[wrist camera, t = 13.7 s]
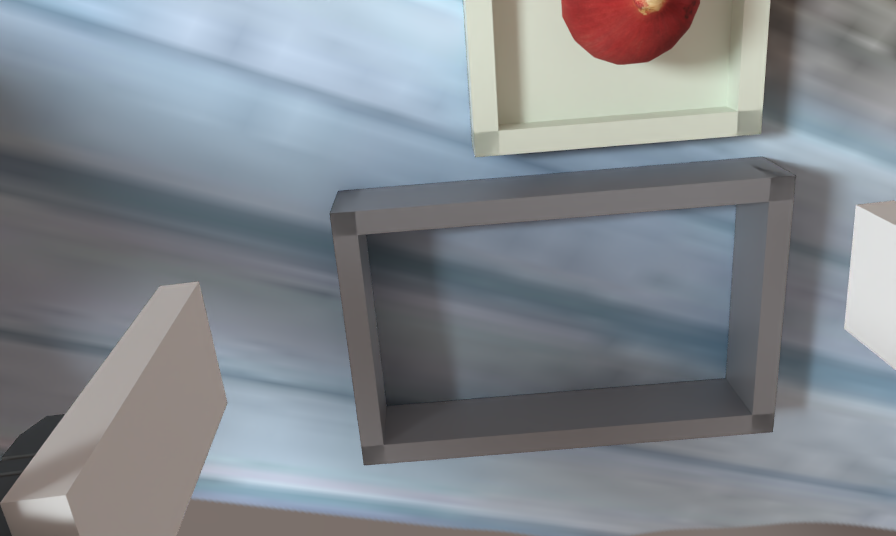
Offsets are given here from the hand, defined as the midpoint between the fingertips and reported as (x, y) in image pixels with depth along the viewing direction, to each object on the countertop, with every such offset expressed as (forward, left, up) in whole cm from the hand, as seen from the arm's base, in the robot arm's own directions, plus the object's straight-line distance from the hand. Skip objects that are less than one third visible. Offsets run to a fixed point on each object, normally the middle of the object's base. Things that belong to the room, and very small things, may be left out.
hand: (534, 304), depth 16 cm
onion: (+7, +5, -25) cm, 26 cm away
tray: (+7, +5, -26) cm, 27 cm away
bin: (+4, -11, -26) cm, 28 cm away
